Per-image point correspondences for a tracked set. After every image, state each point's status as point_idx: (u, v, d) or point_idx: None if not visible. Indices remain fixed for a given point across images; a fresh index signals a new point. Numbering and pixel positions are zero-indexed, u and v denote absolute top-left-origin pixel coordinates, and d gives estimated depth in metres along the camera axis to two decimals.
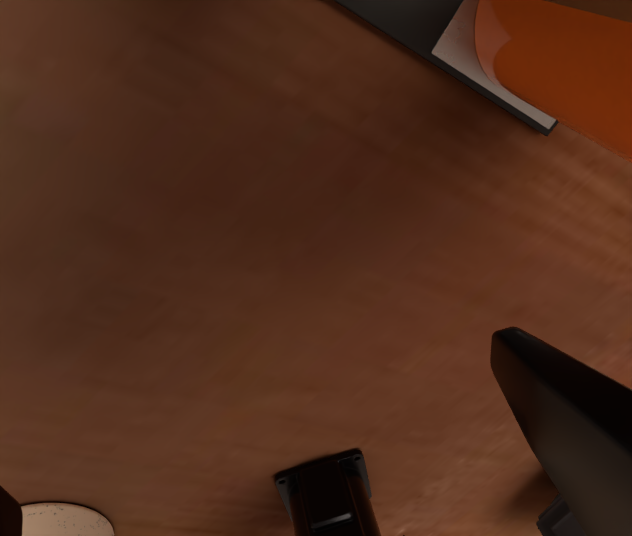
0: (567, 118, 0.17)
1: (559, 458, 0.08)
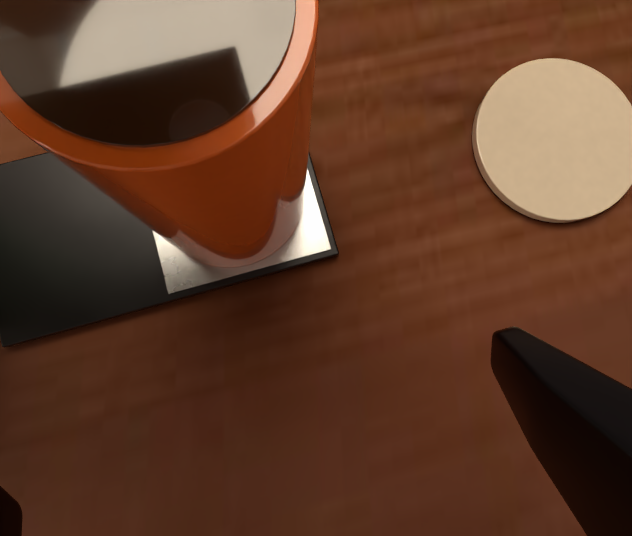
0: (202, 244, 0.16)
1: (559, 458, 0.08)
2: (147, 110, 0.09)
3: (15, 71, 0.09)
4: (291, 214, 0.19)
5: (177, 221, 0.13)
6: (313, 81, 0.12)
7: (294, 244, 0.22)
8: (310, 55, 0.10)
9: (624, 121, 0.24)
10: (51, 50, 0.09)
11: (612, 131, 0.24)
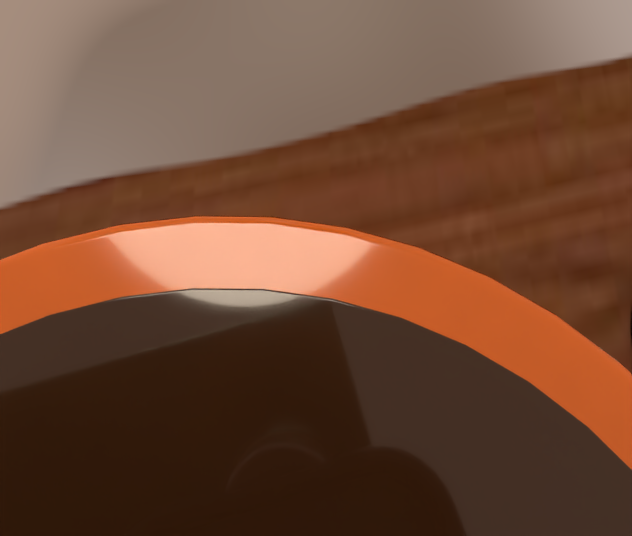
0: None
1: None
2: None
3: None
4: None
5: None
6: None
7: None
8: None
9: None
10: None
11: None
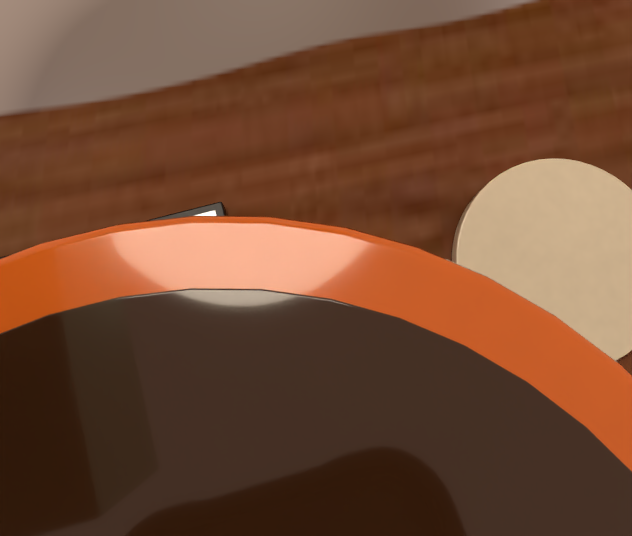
0: None
1: None
2: None
3: None
4: None
5: None
6: None
7: None
8: None
9: None
10: None
11: (630, 254, 0.19)
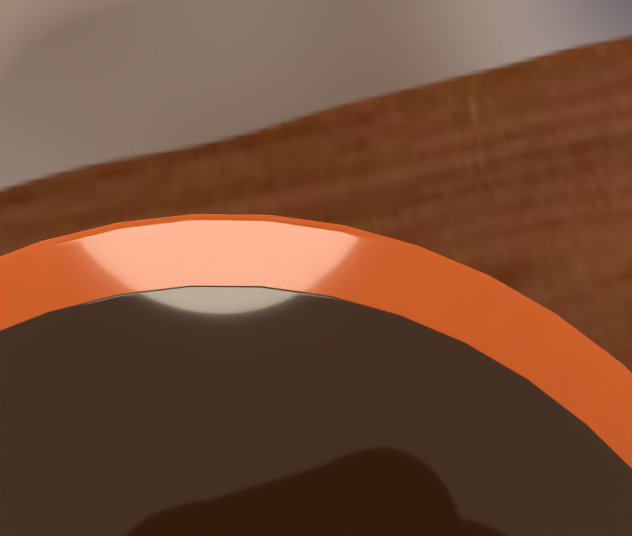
0: None
1: None
2: None
3: None
4: None
5: None
6: None
7: None
8: None
9: None
10: None
11: None
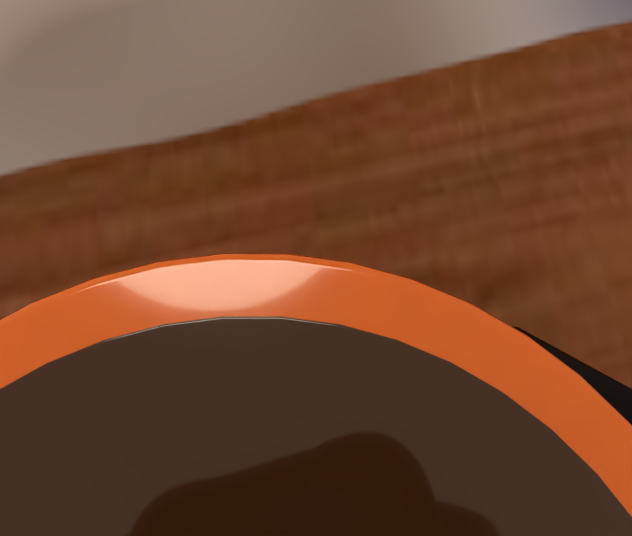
0: None
1: None
2: None
3: None
4: None
5: None
6: None
7: None
8: None
9: None
10: None
11: None
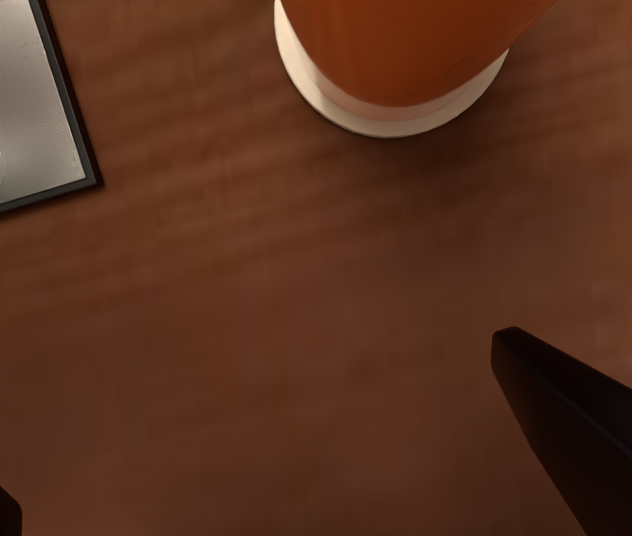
0: (409, 82, 0.11)
1: (559, 458, 0.08)
2: None
3: None
4: None
5: (429, 34, 0.08)
6: None
7: (42, 171, 0.18)
8: None
9: None
10: None
11: None
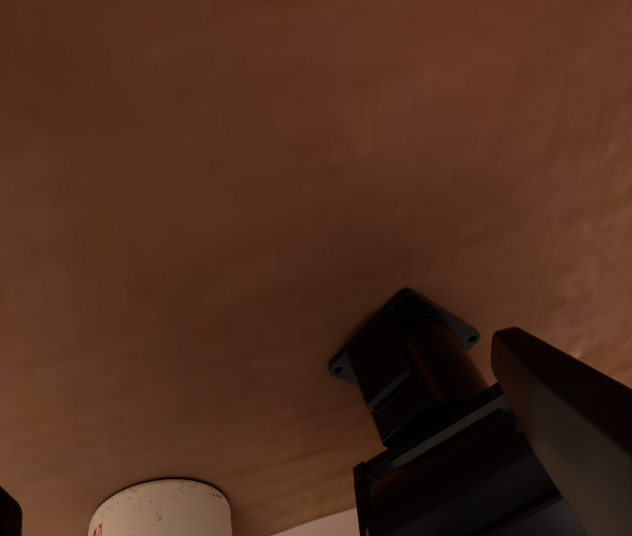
0: None
1: (559, 458, 0.08)
2: None
3: None
4: None
5: None
6: None
7: None
8: None
9: None
10: None
11: None
